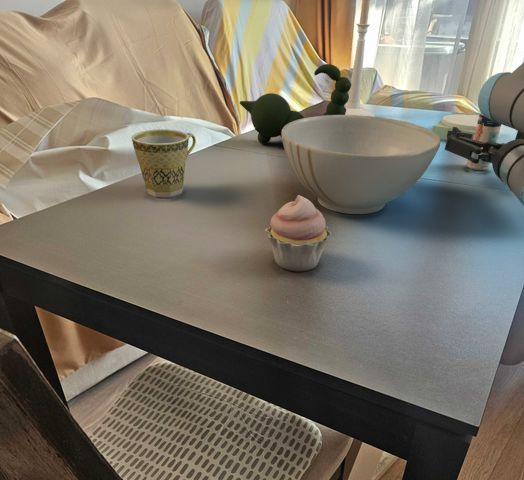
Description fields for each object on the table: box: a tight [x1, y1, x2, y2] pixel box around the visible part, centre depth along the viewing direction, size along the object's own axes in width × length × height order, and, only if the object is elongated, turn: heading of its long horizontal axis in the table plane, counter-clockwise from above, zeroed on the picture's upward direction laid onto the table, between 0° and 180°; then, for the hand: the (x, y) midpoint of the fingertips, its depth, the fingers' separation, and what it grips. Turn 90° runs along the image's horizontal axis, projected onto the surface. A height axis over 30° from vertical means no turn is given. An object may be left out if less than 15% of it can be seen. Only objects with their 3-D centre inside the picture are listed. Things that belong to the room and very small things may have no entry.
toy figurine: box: [239, 63, 352, 145], centre depth 117 cm, size 9×19×25 cm
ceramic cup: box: [131, 128, 197, 199], centre depth 93 cm, size 13×10×10 cm
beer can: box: [466, 111, 503, 172], centre depth 108 cm, size 5×5×12 cm
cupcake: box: [264, 194, 332, 272], centre depth 71 cm, size 9×9×10 cm
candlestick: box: [344, 0, 375, 117], centre depth 139 cm, size 13×13×30 cm
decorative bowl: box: [281, 115, 441, 215], centre depth 90 cm, size 27×27×12 cm
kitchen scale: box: [431, 113, 479, 141], centre depth 132 cm, size 14×14×4 cm
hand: (485, 134), depth 107 cm, fingers open, 13 cm apart
